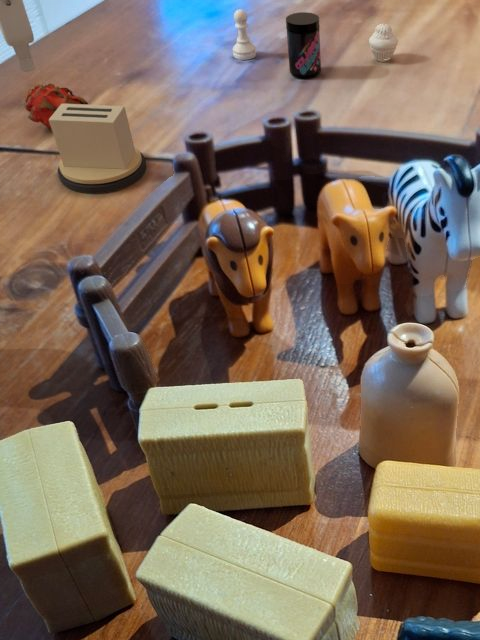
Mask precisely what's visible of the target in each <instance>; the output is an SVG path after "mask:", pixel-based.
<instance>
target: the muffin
mask: <svg viewBox="0 0 480 640" xmlns="http://www.w3.org/2000/svg"><path fill="white" fill-rule="evenodd" d="M368 45H369V48H370V50H371V52H372V55H373V57H374V59H375V61H377V62H380V63H385V62H389V61H390V60H391V59H392V57H393V55H394V53H395V51H396V49H397V46H398V38H397V36H396V35H395V34H394V32H393V28H392V27H391V25H390V24H388V23H380V24H377V25H376V26H375V29H374V32H373V34H371V36H370V37H369V39H368ZM376 58H377V59H376ZM388 58H390V59H388ZM378 59H379V60H378ZM384 59H388V60H384Z"/></svg>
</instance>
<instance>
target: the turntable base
mask: <svg viewBox="0 0 480 640" xmlns="http://www.w3.org/2000/svg"><path fill="white" fill-rule="evenodd" d="M140 153H141V157H142V162H141V165H140V166H139V168H138V169H137V170H136V171H135V172H133V173H132V174H130V175H129V176H127V177H125V178H122V179H120V180H116V181H113V182H109V183H103V184H81V183H76V182H73V181H70V180H68V179H67V178H65V177H64V176H63V175H62V173H61V171H60V168H59V166H58V167H57V174H58V177H59V181H60V182H61V184H62V185H63V186H64V187H66V188H67V189H69V190H70V191H73V192H77V193H81V194H106V193H111V192H116V191H119V190H123V189H125V188H128V187H130V186H131V185H134V184H135V183H137V182H138V181H139V180H141V178H142V177H143V176H144V175H145V174H146V172H147V161H146V159H145V155H144V154H143V153H142V152H141V151H140Z"/></svg>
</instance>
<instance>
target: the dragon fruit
mask: <svg viewBox="0 0 480 640" xmlns="http://www.w3.org/2000/svg"><path fill="white" fill-rule="evenodd" d="M33 87H34V88H30V89H28V91H27V94H26V96H25V97H24V101H25V103H24V105H23V107H24V108H25V110H26V111H27V112H29V113H28V119H29V120H30V121H32V122H34V123H41V124H42V125H43V126H45V127H46V128H47V129H48V130H49V131H50V133H52V131H51V126H50V123H49V119H50V117H51V116H52V115H53V114H54V112H55V111H56V110H57V109H58V107H59V106H60V105H61V104H85V105H89V102H88V101H86V100H85V98H83V97H81V96H78V95H75V94H74V93H73V91H72V90H71V89H69V88H68V87H60V86H58V85H57V86H56V85H55V84H54V83H48V84H41V83H37V84H35V85H34V86H33Z"/></svg>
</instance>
